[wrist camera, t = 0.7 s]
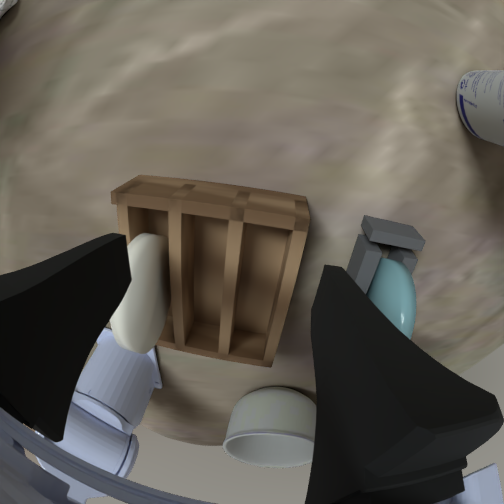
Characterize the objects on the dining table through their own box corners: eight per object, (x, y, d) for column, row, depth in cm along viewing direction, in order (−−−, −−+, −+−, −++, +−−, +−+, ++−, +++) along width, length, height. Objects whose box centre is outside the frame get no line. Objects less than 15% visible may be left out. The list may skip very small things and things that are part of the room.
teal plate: (358, 311, 23) (370, 391, 17) (346, 310, 23) (355, 391, 17) (394, 238, 19) (430, 323, 12) (380, 235, 19) (412, 322, 12)
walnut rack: (274, 333, 25) (271, 367, 22) (149, 309, 25) (133, 338, 22) (305, 196, 18) (310, 219, 15) (139, 174, 19) (110, 192, 15)
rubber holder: (370, 325, 23) (375, 344, 21) (327, 320, 24) (330, 340, 22) (412, 226, 18) (425, 241, 16) (364, 215, 19) (373, 229, 17)
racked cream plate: (175, 303, 23) (141, 377, 16) (162, 300, 23) (125, 371, 16) (173, 216, 19) (118, 281, 12) (158, 214, 19) (98, 277, 12)
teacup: (235, 414, 34) (227, 464, 27) (228, 370, 29) (215, 434, 22) (336, 417, 33) (338, 467, 26) (355, 373, 27) (363, 436, 20)
